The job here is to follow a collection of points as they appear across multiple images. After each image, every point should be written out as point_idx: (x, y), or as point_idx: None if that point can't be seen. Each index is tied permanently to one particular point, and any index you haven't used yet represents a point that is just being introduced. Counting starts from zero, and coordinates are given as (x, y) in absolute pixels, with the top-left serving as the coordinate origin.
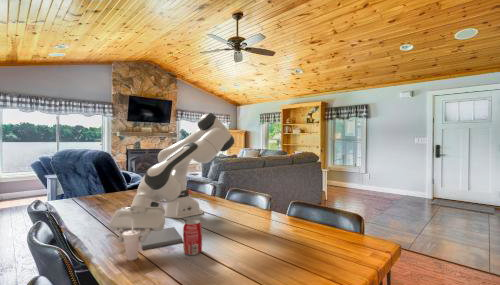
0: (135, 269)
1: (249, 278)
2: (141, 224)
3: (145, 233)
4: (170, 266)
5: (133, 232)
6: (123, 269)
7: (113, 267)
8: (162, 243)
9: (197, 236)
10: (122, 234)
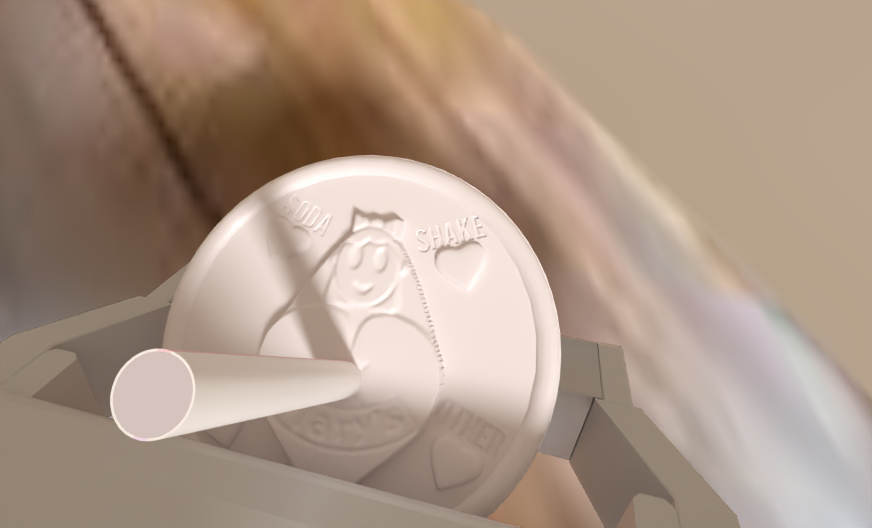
0: (345, 127)
1: None
2: (26, 476)
3: (100, 318)
4: (81, 135)
5: (306, 284)
6: (444, 141)
7: (545, 190)
8: None
9: None
10: (548, 301)
